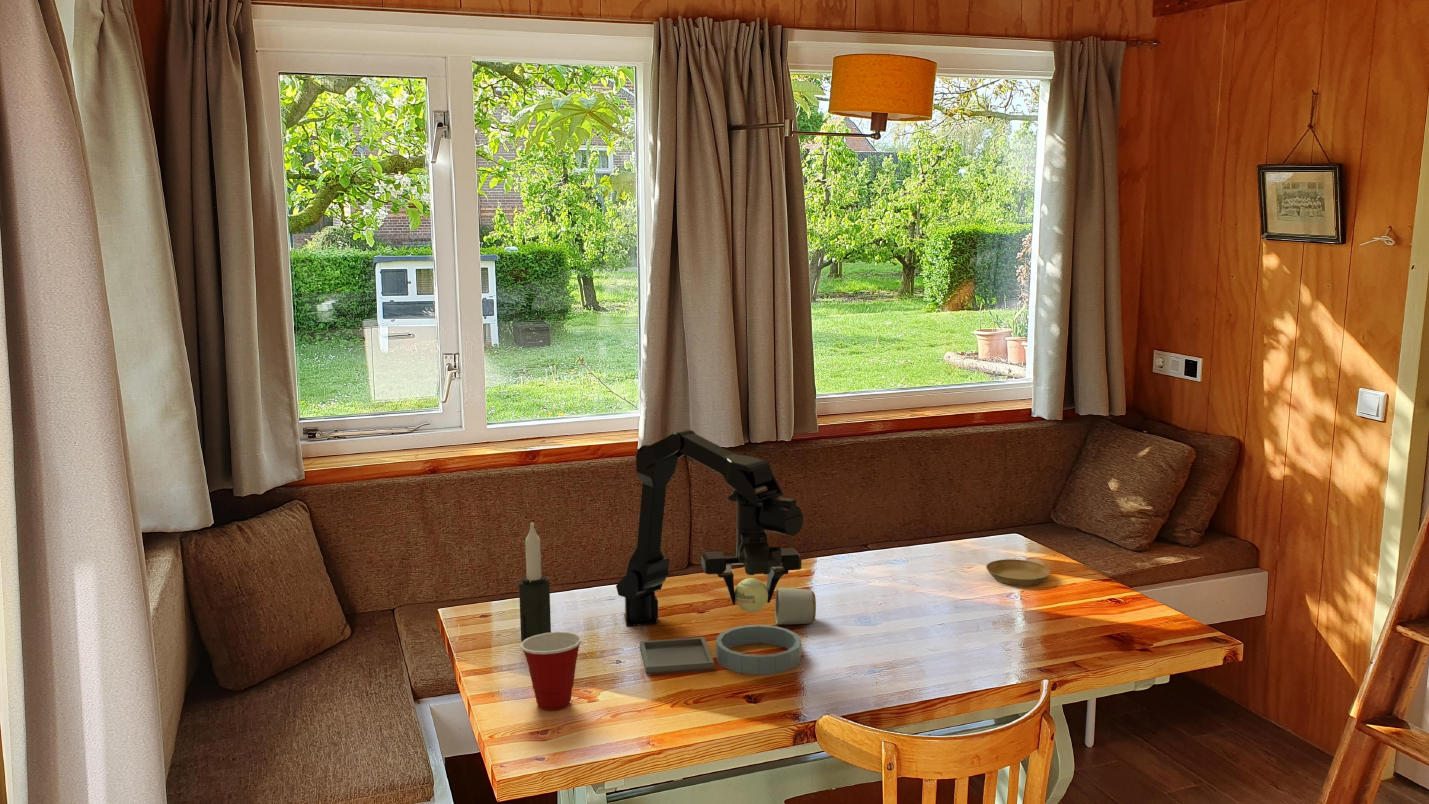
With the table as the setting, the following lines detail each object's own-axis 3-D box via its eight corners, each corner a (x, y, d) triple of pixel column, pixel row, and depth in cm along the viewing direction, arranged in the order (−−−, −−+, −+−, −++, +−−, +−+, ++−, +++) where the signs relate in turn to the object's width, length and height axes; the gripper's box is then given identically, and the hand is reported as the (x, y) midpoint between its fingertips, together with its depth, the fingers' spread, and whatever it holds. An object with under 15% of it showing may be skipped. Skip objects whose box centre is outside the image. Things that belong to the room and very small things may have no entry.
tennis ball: (729, 577, 211) (759, 583, 208) (746, 572, 217) (775, 578, 214) (726, 610, 212) (757, 616, 208) (743, 604, 217) (773, 610, 214)
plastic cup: (562, 685, 202) (560, 623, 200) (595, 704, 194) (594, 640, 192) (510, 702, 195) (508, 638, 193) (543, 723, 187) (541, 656, 185)
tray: (646, 674, 207) (646, 667, 206) (639, 648, 219) (639, 641, 219) (714, 669, 209) (714, 662, 208) (704, 644, 221) (704, 637, 221)
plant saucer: (1060, 578, 261) (1061, 567, 261) (1033, 594, 250) (1033, 583, 250) (1003, 565, 271) (1003, 555, 270) (974, 580, 260) (974, 569, 259)
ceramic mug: (817, 628, 229) (817, 593, 228) (778, 629, 229) (778, 594, 228) (809, 611, 240) (809, 577, 239) (772, 612, 239) (772, 578, 238)
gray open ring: (724, 677, 205) (724, 659, 205) (710, 644, 221) (710, 627, 221) (809, 671, 208) (809, 653, 207) (790, 638, 224) (790, 622, 223)
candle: (553, 638, 225) (549, 520, 221) (541, 647, 220) (537, 526, 216) (531, 635, 227) (526, 518, 223) (519, 644, 222) (514, 524, 218)
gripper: (710, 540, 201) (709, 621, 204) (809, 535, 204) (807, 615, 207) (701, 523, 212) (700, 600, 214) (795, 519, 215) (793, 595, 217)
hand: (750, 603), depth 213 cm, fingers closed on tennis ball, 6 cm apart
